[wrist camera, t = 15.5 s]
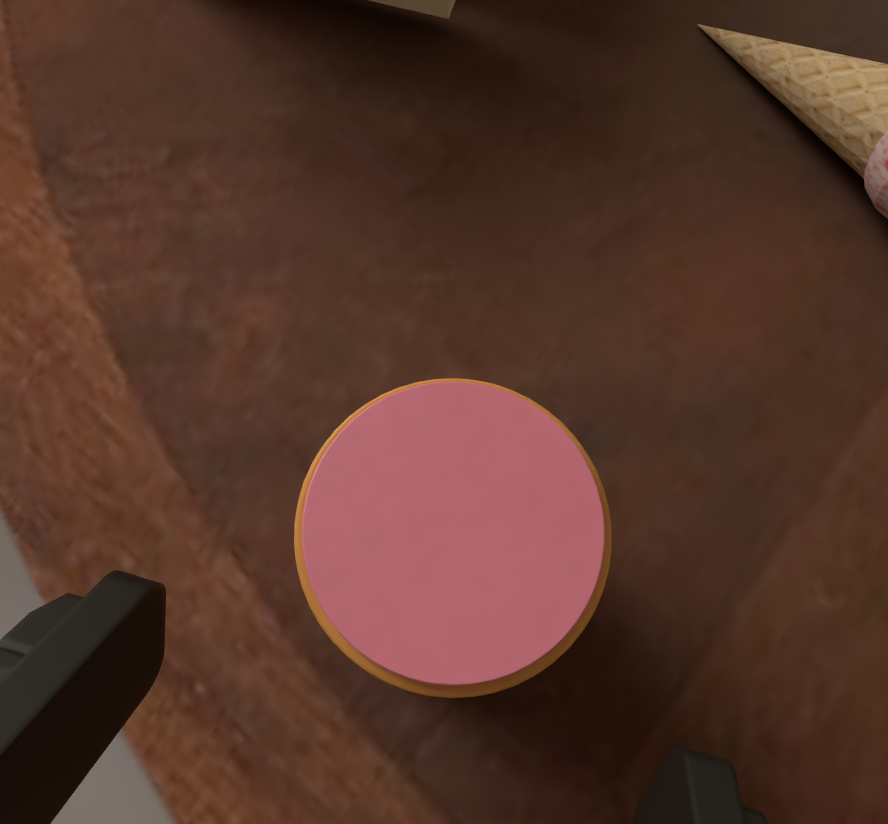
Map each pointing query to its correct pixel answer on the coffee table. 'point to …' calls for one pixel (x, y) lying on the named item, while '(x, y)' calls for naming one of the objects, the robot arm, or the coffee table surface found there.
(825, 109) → the ice cream cone
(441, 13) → the drawer
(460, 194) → the coffee table surface
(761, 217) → the coffee table surface
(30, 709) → the robot arm
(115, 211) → the coffee table surface
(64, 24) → the coffee table surface
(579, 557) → the pink-topped orange cylinder
